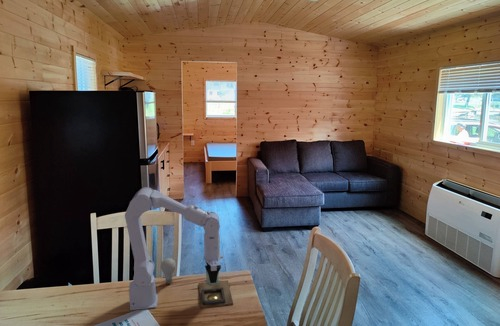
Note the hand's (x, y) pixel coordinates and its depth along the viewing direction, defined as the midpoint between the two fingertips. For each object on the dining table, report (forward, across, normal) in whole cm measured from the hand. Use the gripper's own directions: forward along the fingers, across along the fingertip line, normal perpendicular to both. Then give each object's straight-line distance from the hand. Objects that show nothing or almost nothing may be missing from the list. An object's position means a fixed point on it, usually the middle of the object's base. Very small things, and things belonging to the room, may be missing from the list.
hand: (212, 278), depth 137 cm
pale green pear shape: (+2, 0, 0) cm, 2 cm away
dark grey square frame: (+9, 0, 0) cm, 9 cm away
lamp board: (+9, +3, -1) cm, 9 cm away
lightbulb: (+9, +14, +17) cm, 24 cm away
